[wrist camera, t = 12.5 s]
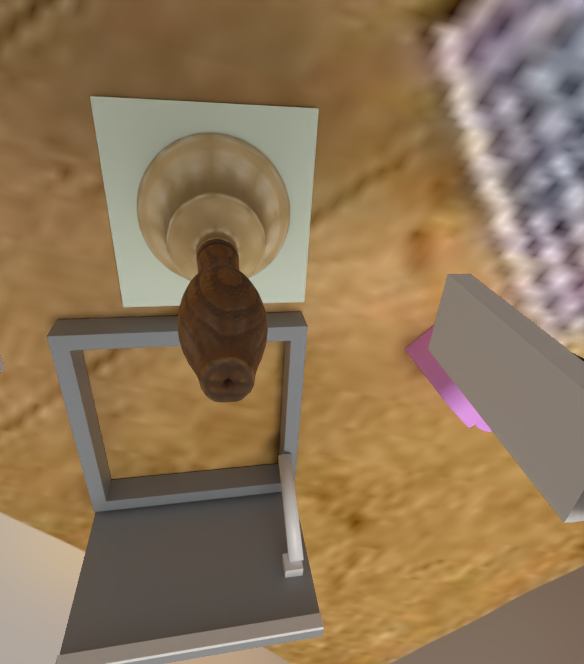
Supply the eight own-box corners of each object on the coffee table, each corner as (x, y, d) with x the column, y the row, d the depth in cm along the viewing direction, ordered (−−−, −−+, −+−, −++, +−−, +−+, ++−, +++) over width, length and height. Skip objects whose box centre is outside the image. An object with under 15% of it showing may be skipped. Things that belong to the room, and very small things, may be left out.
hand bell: (102, 184, 22) (-66, 348, 8) (243, 100, 21) (310, 131, 8) (193, 307, 26) (180, 549, 13) (313, 241, 25) (437, 423, 12)
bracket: (404, 347, 32) (450, 408, 26) (465, 298, 30) (529, 349, 24) (482, 430, 38) (534, 495, 32) (536, 392, 37) (601, 451, 31)
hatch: (57, 319, 26) (-41, 475, 15) (301, 311, 28) (355, 440, 18) (102, 500, 34) (57, 681, 23) (289, 480, 36) (322, 636, 26)
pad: (92, 96, 20) (90, 96, 20) (316, 108, 22) (318, 108, 22) (125, 302, 26) (123, 307, 25) (302, 298, 28) (304, 302, 27)
